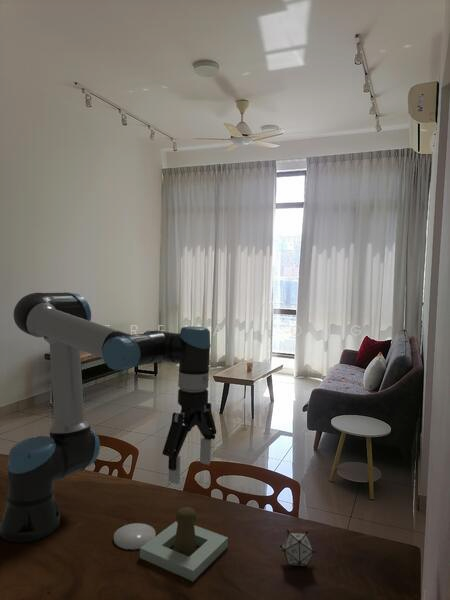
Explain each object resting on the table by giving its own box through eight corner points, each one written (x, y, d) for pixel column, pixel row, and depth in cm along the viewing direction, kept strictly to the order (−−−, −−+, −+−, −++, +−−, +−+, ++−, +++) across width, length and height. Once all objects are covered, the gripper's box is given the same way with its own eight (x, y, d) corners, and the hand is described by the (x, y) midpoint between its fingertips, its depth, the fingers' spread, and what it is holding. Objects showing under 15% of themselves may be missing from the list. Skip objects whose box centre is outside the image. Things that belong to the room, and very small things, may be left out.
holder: (139, 557, 109) (140, 547, 109) (178, 528, 123) (178, 519, 123) (193, 581, 101) (193, 570, 101) (227, 546, 115) (228, 537, 115)
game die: (300, 584, 107) (305, 568, 100) (271, 560, 111) (274, 543, 104) (318, 553, 112) (324, 536, 106) (290, 532, 116) (294, 514, 110)
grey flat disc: (104, 540, 116) (104, 537, 116) (133, 522, 125) (133, 519, 125) (136, 554, 110) (136, 551, 110) (163, 534, 120) (163, 531, 120)
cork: (193, 561, 108) (194, 517, 108) (169, 557, 110) (171, 514, 109) (199, 547, 114) (200, 505, 114) (177, 543, 115) (178, 502, 115)
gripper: (175, 401, 97) (172, 495, 98) (230, 382, 119) (227, 459, 120) (149, 396, 101) (146, 486, 102) (207, 378, 123) (204, 453, 123)
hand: (190, 472), depth 111 cm, fingers open, 13 cm apart
